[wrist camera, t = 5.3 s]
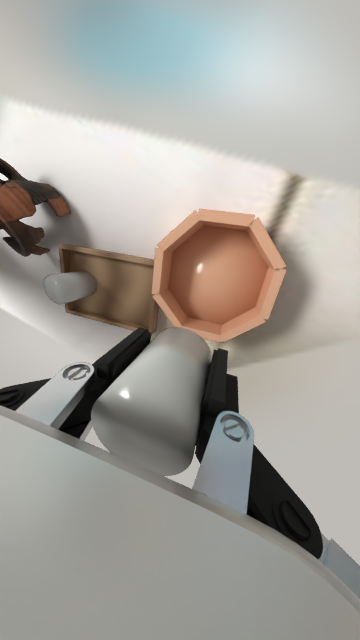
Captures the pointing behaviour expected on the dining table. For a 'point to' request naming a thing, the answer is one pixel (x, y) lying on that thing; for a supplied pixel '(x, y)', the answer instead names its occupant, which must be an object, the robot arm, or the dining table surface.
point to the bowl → (217, 274)
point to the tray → (113, 287)
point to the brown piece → (25, 209)
